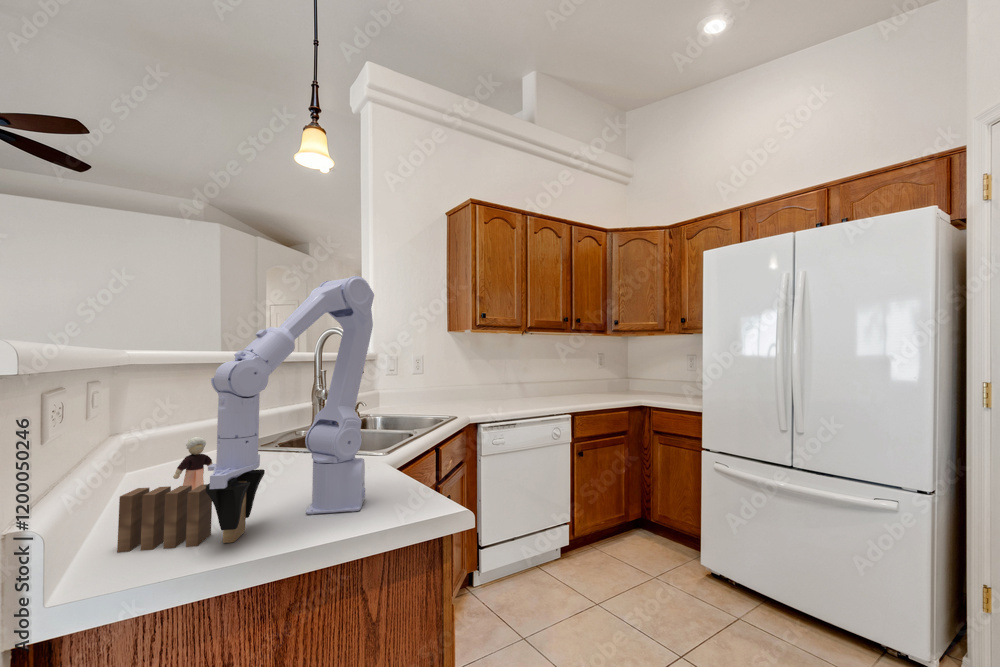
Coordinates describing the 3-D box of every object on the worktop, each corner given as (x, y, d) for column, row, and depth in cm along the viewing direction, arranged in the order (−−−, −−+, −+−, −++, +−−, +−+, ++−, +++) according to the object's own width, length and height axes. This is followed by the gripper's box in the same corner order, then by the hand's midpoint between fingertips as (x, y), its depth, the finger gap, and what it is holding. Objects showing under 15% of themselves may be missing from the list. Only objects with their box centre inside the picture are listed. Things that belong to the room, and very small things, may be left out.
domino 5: (245, 531, 72) (246, 481, 72) (234, 542, 68) (235, 488, 68) (234, 532, 72) (235, 481, 72) (222, 542, 67) (224, 489, 68)
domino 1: (147, 539, 69) (149, 487, 70) (129, 551, 65) (131, 495, 65) (135, 540, 69) (138, 488, 69) (117, 552, 65) (119, 496, 65)
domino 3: (190, 536, 70) (191, 485, 71) (175, 547, 66) (177, 493, 67) (178, 537, 70) (180, 485, 71) (163, 548, 66) (165, 493, 66)
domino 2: (168, 538, 70) (170, 486, 70) (152, 549, 65) (154, 494, 66) (157, 538, 70) (159, 486, 70) (140, 550, 65) (142, 495, 66)
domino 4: (210, 534, 71) (212, 484, 71) (197, 546, 67) (199, 491, 67) (199, 535, 71) (201, 484, 71) (185, 547, 66) (187, 492, 67)
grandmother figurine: (185, 507, 85) (188, 440, 85) (169, 506, 85) (171, 439, 86) (218, 495, 92) (220, 433, 93) (203, 494, 93) (205, 433, 94)
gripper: (229, 429, 77) (227, 509, 76) (187, 445, 63) (183, 543, 62) (273, 428, 78) (271, 507, 77) (241, 443, 64) (238, 539, 63)
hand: (235, 523), depth 70 cm, fingers closed on domino 5, 4 cm apart
